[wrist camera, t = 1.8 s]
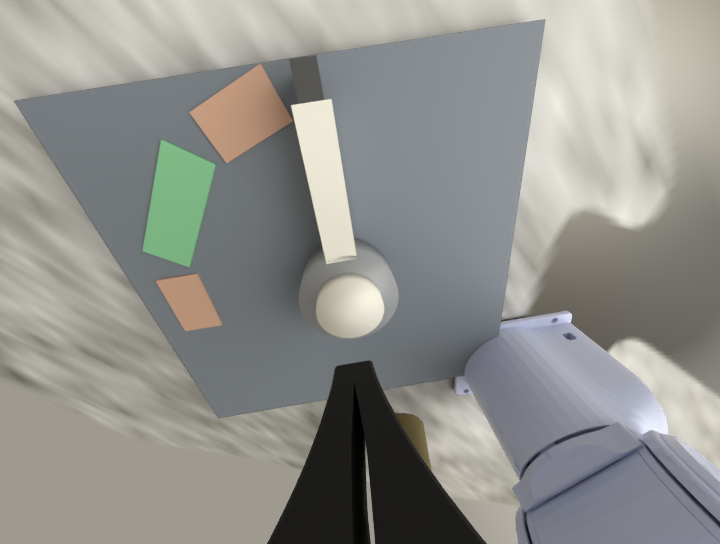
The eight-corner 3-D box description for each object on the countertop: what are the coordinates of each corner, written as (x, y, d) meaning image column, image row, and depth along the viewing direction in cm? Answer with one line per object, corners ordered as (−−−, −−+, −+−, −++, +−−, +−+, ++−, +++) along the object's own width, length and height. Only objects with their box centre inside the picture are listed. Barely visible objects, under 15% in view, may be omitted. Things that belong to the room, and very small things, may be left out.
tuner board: (528, 28, 13) (547, 17, 12) (486, 360, 24) (494, 371, 23) (40, 103, 13) (10, 100, 11) (223, 405, 24) (217, 420, 22)
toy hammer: (393, 307, 18) (405, 342, 15) (313, 320, 18) (309, 358, 15) (369, 61, 12) (382, 36, 9) (246, 80, 12) (215, 62, 9)
